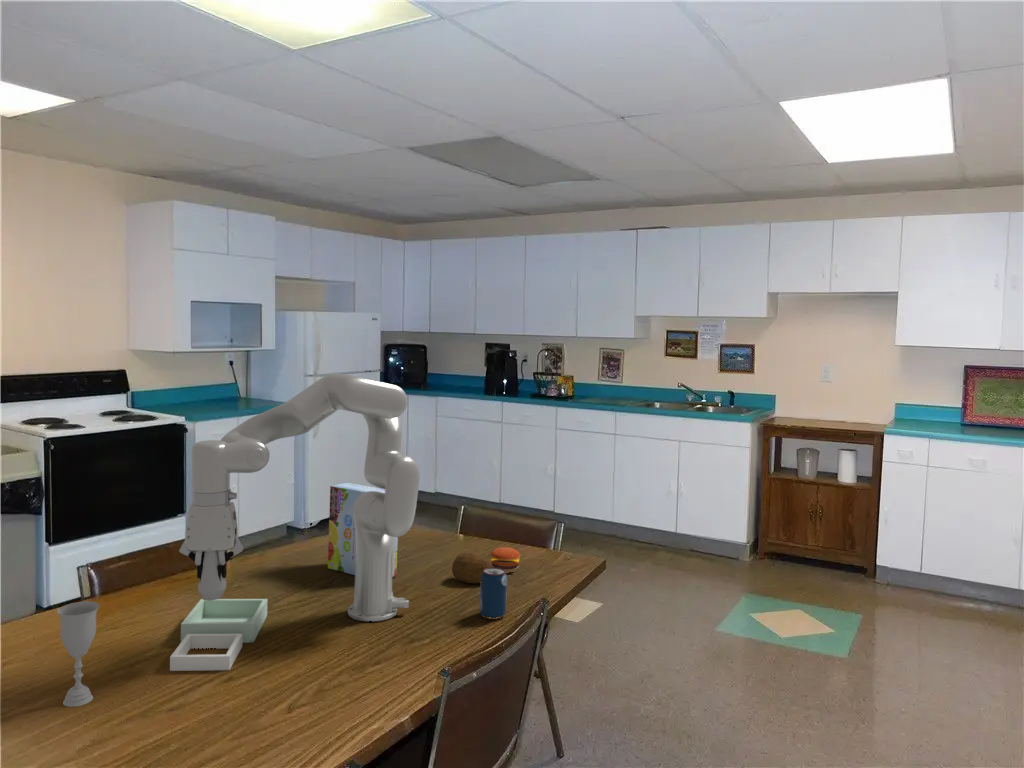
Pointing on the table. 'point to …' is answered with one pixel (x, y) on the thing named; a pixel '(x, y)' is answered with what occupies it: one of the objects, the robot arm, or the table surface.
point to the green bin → (226, 618)
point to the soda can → (493, 592)
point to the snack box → (347, 527)
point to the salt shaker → (211, 577)
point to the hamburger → (505, 558)
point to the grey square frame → (206, 662)
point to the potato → (469, 567)
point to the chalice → (78, 644)
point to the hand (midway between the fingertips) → (212, 580)
